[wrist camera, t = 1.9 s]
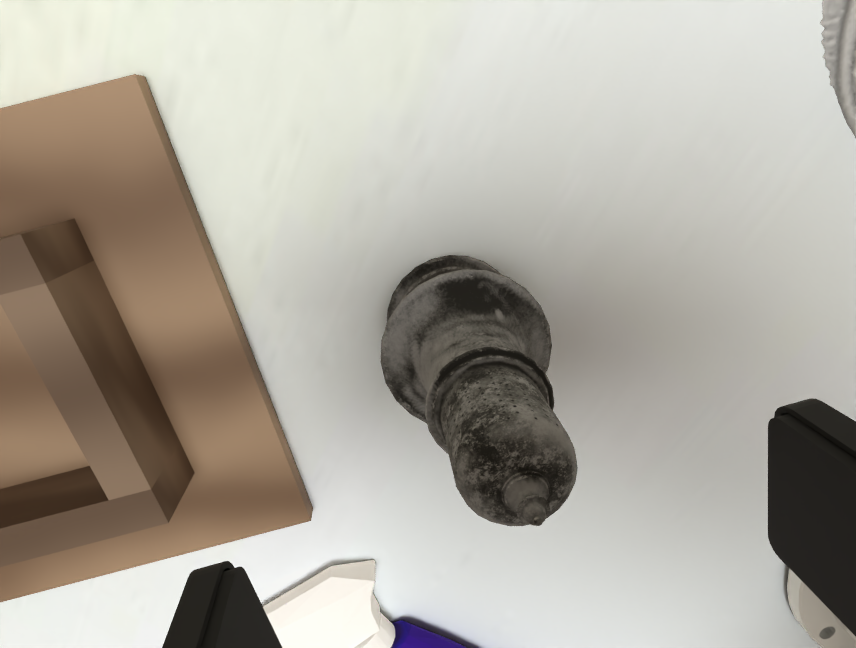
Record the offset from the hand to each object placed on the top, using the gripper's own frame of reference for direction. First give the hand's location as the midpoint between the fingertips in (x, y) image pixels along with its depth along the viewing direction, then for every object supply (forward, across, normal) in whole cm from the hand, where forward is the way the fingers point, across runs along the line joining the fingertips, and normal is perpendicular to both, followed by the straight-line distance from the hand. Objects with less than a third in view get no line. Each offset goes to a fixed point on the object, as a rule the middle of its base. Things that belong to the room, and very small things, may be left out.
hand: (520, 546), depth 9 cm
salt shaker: (+13, -1, +1) cm, 13 cm away
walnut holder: (+13, +16, -1) cm, 21 cm away
